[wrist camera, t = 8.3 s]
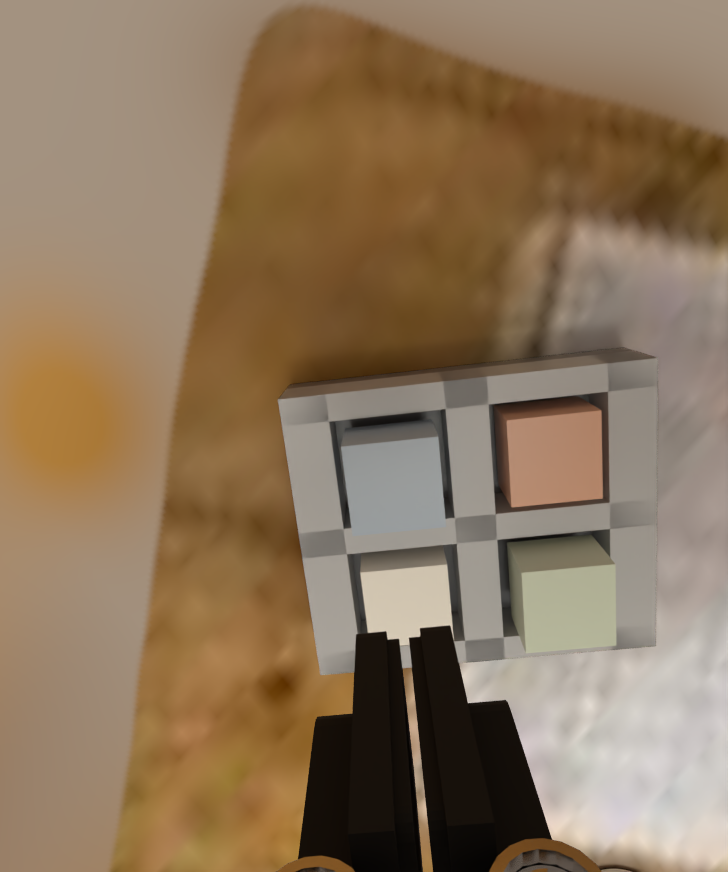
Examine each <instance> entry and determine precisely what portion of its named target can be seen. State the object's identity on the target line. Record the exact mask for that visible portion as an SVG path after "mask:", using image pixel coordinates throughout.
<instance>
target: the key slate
mask: <svg viewBox="0 0 728 872" xmlns="http://www.w3.org/2000/svg"><path fill="white" fill-rule="evenodd" d="M341 451H342V459H343V466H344V474H345V482H346V490H347V497H348V505H349V513H350V520H351V528H352V536H360V535H370V534H380V533H391V532H401V531H411V530H421V529H432V528H442V527H446V520H445V508H444V497H443V485H442V474H441V462H440V451H439V439H438V435H437V432H436V429H435V426H434V424H433V421H432V419H428V420H419V421H410V422H400V423H391V424H382V425H372V426H363V427H354V428H345V430H344V435H343V439H342V444H341Z"/></svg>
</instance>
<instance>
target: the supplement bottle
mask: <svg viewBox="0 0 728 872" xmlns="http://www.w3.org/2000/svg"><path fill="white" fill-rule="evenodd" d="M601 871H602V872H631V871H628V870H623V869H604V870H601Z"/></svg>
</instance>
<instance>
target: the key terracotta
mask: <svg viewBox="0 0 728 872" xmlns="http://www.w3.org/2000/svg"><path fill="white" fill-rule="evenodd" d="M493 406H494V422H495V438H496V454H497V470H498V485H499V486H500V488H501V490H502V492H503V493H504V495H505V497H506V499H507V500H508V502H509V504H510V506H511V507H522V506H532V505H542V504H552V503H562V502H572V501H583V500H593V499H603V476H602V413H601V410H600V409H598V408H597V407H595V406H594V405H592V404H590V403H589V402H587V401H585V400H584V399H582V398H581V397H579V396H576V397H567V398H558V399H548V400H539V401H530V402H520V403H511V404H502V405H493Z"/></svg>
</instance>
